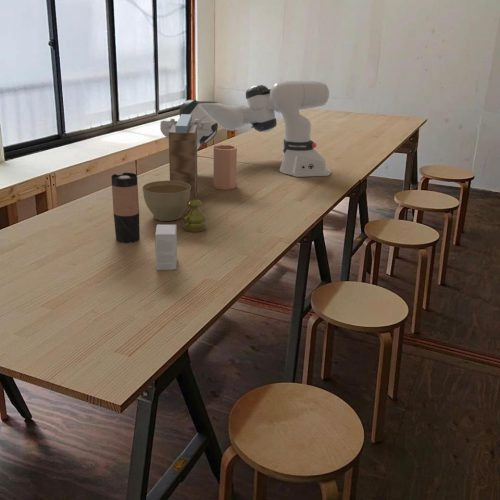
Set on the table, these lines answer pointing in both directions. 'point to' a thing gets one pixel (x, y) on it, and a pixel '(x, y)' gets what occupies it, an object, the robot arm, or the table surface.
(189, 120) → the lid slat
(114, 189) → the travel mug
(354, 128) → the table surface
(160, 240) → the small box
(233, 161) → the crock
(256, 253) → the table surface
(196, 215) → the olive green tiered figure
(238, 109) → the robot arm
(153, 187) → the planter bowl
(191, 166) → the stand
